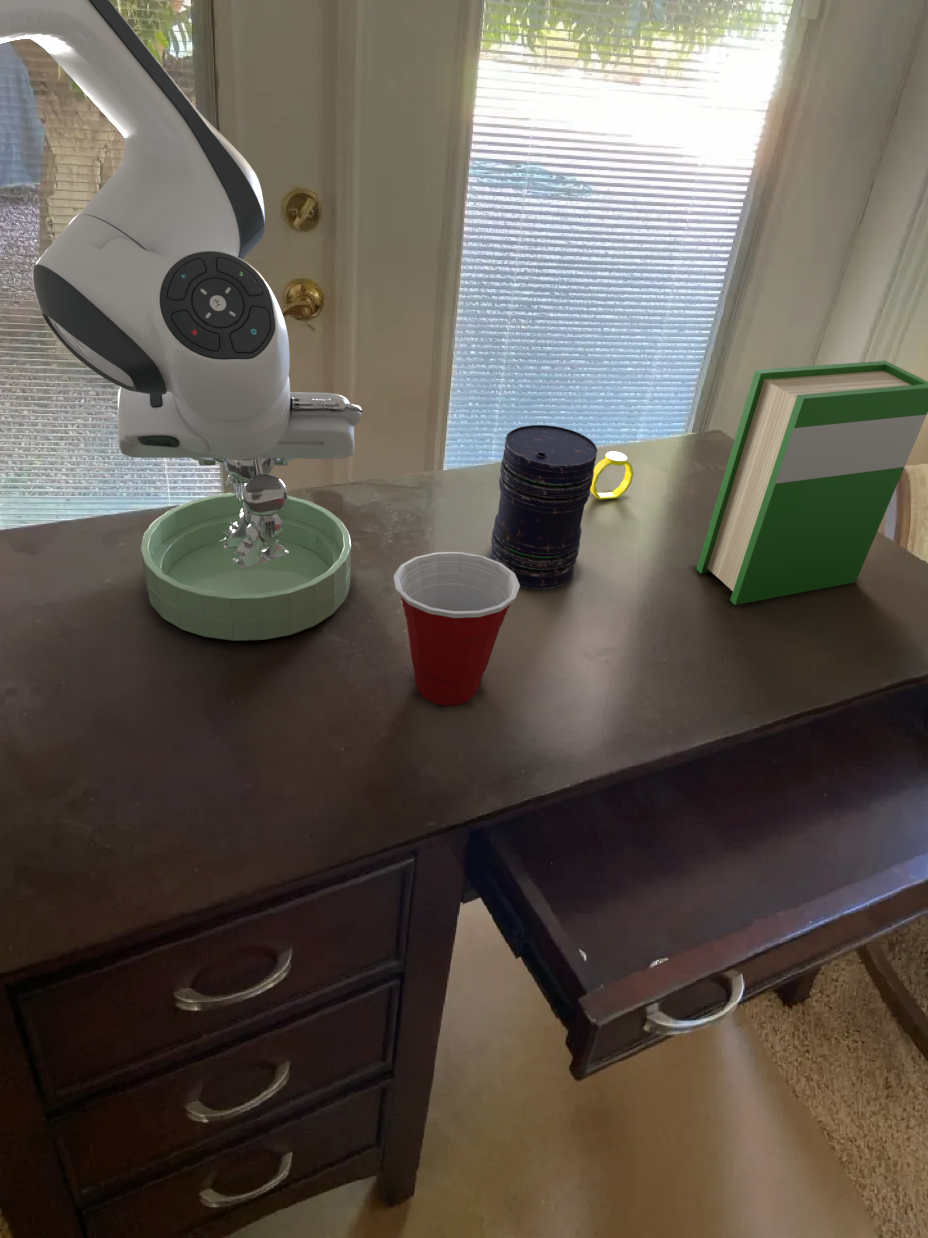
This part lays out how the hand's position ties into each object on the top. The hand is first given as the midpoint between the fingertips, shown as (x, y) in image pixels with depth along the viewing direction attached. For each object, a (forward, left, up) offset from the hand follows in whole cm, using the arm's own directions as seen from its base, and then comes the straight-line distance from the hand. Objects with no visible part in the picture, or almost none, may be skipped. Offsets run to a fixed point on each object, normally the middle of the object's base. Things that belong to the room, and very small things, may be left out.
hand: (244, 457), depth 85 cm
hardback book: (+60, -1, -14) cm, 62 cm away
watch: (+45, +18, -14) cm, 51 cm away
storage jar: (+31, +2, -14) cm, 34 cm away
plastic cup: (+18, -18, -14) cm, 29 cm away
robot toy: (0, -1, -9) cm, 9 cm away
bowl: (0, -1, -14) cm, 14 cm away
